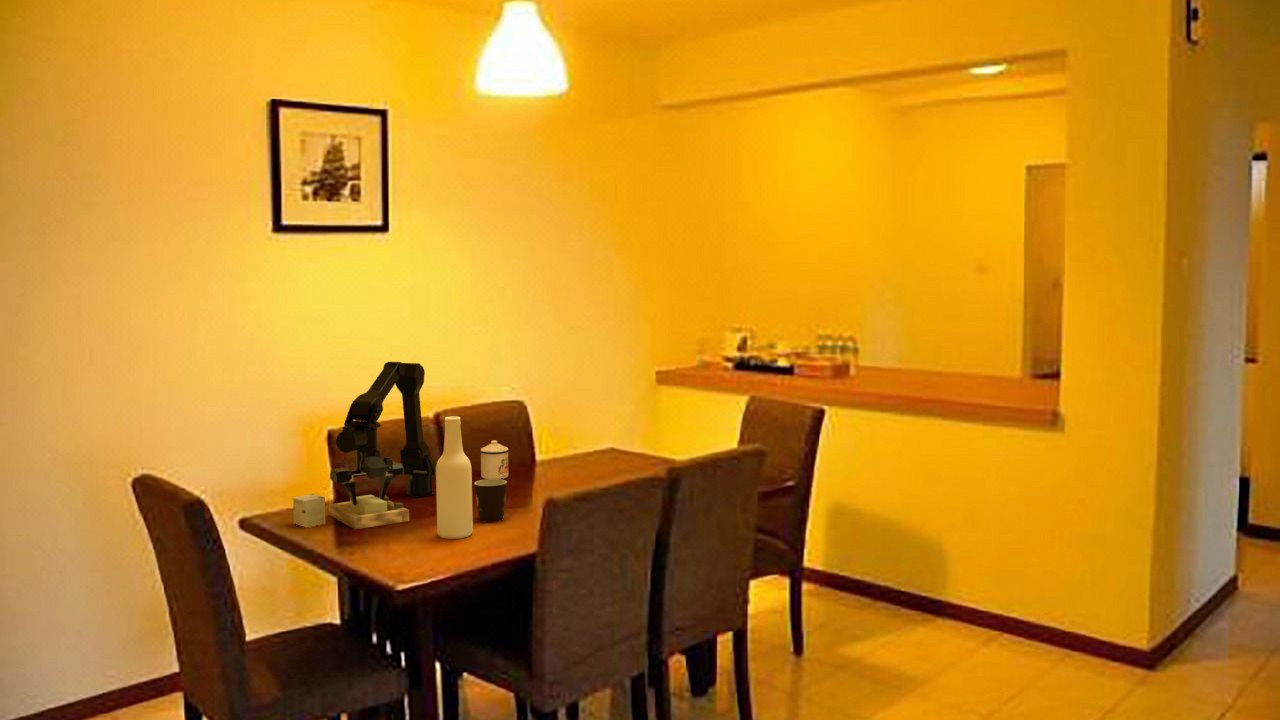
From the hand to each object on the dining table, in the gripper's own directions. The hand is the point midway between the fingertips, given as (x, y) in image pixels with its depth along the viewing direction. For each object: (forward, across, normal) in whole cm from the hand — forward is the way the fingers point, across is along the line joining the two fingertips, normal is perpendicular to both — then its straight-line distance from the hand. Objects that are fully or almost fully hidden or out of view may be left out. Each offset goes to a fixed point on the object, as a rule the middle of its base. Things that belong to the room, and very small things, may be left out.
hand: (368, 503), depth 287 cm
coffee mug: (+4, +27, -20) cm, 34 cm away
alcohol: (+4, +11, -30) cm, 32 cm away
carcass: (+4, 0, 0) cm, 4 cm away
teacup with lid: (+4, +54, +29) cm, 61 cm away
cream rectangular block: (+3, 0, 0) cm, 3 cm away
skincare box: (+4, -15, +3) cm, 16 cm away
